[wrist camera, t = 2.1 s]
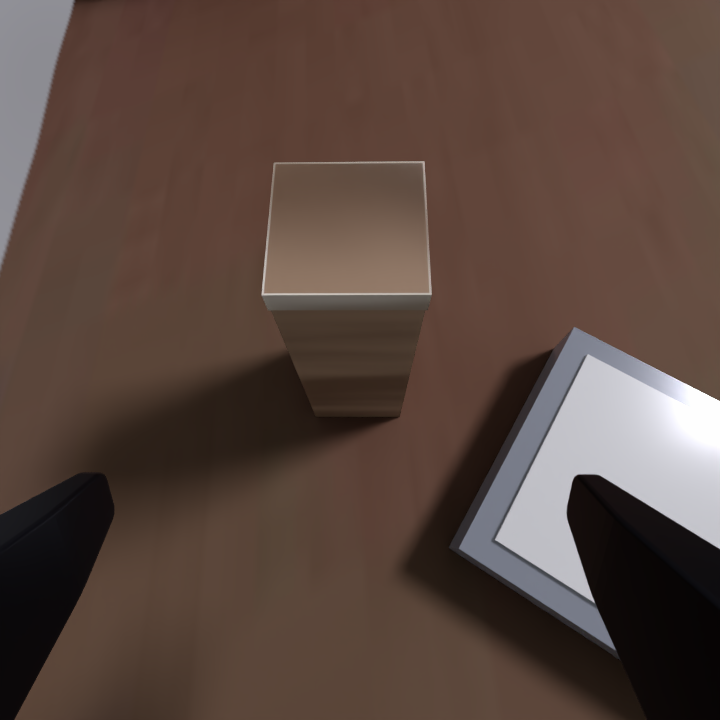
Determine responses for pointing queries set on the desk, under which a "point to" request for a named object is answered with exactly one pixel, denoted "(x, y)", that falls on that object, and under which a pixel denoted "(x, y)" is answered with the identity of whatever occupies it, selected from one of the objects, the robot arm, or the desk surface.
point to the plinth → (590, 471)
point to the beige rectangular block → (349, 279)
